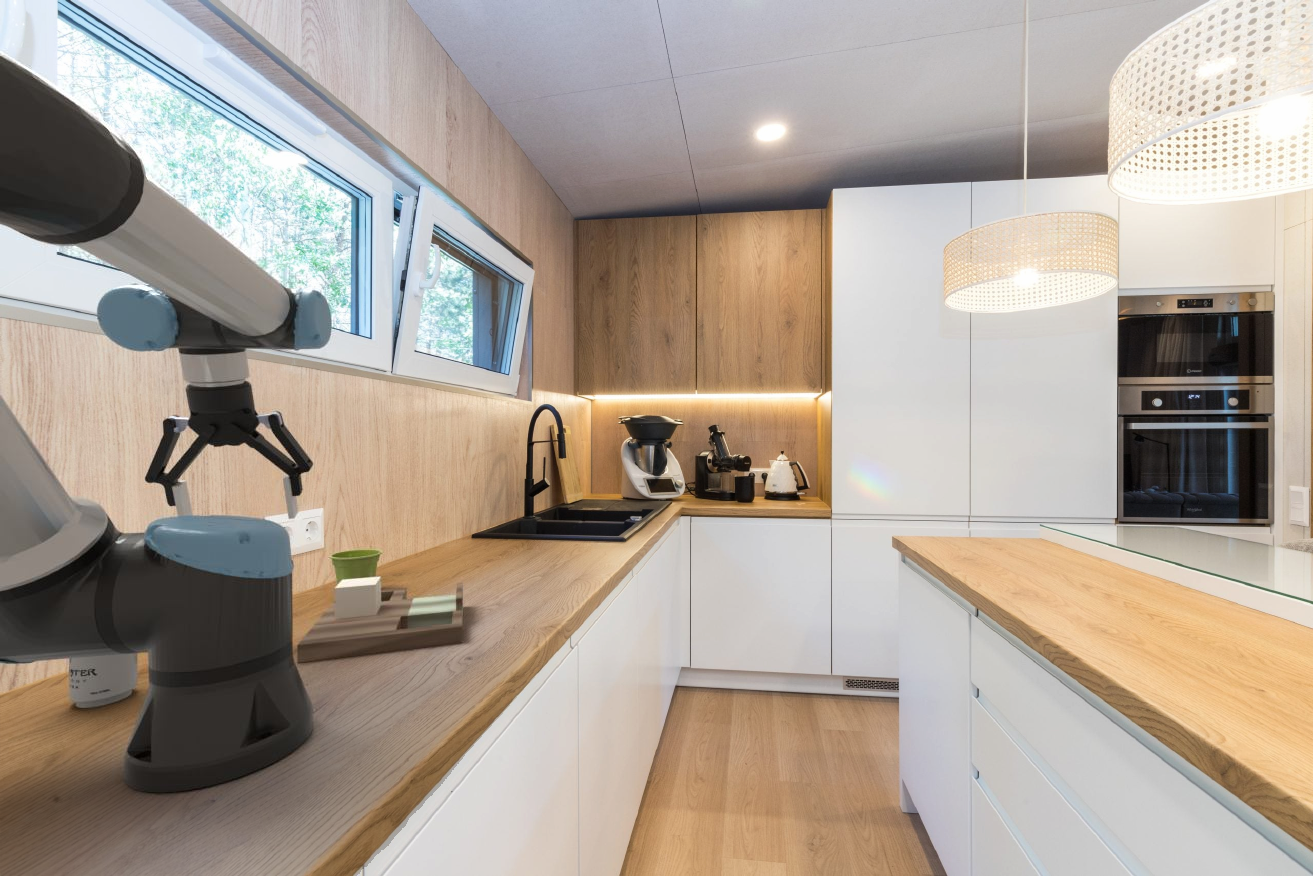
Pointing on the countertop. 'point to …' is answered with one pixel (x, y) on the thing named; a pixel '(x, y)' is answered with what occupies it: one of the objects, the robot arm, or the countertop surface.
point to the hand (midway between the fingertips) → (241, 520)
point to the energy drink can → (102, 679)
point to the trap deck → (386, 627)
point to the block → (357, 597)
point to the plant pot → (355, 563)
